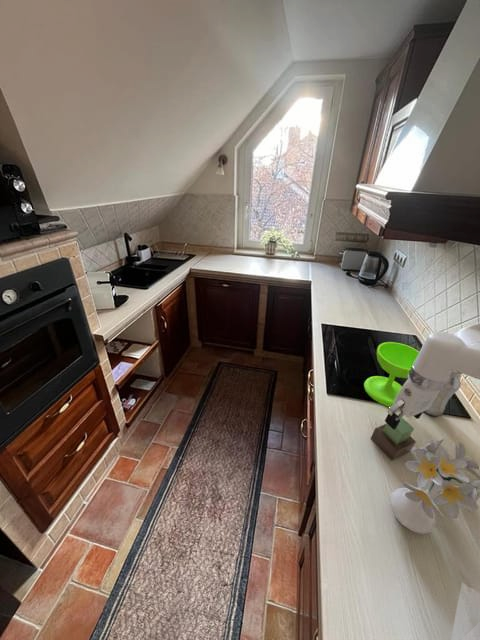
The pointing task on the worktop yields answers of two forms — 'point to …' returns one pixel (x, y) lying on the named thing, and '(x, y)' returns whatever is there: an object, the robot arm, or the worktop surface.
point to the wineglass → (390, 371)
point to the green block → (399, 431)
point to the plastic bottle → (445, 394)
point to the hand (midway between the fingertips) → (401, 419)
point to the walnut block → (391, 444)
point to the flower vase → (435, 487)
